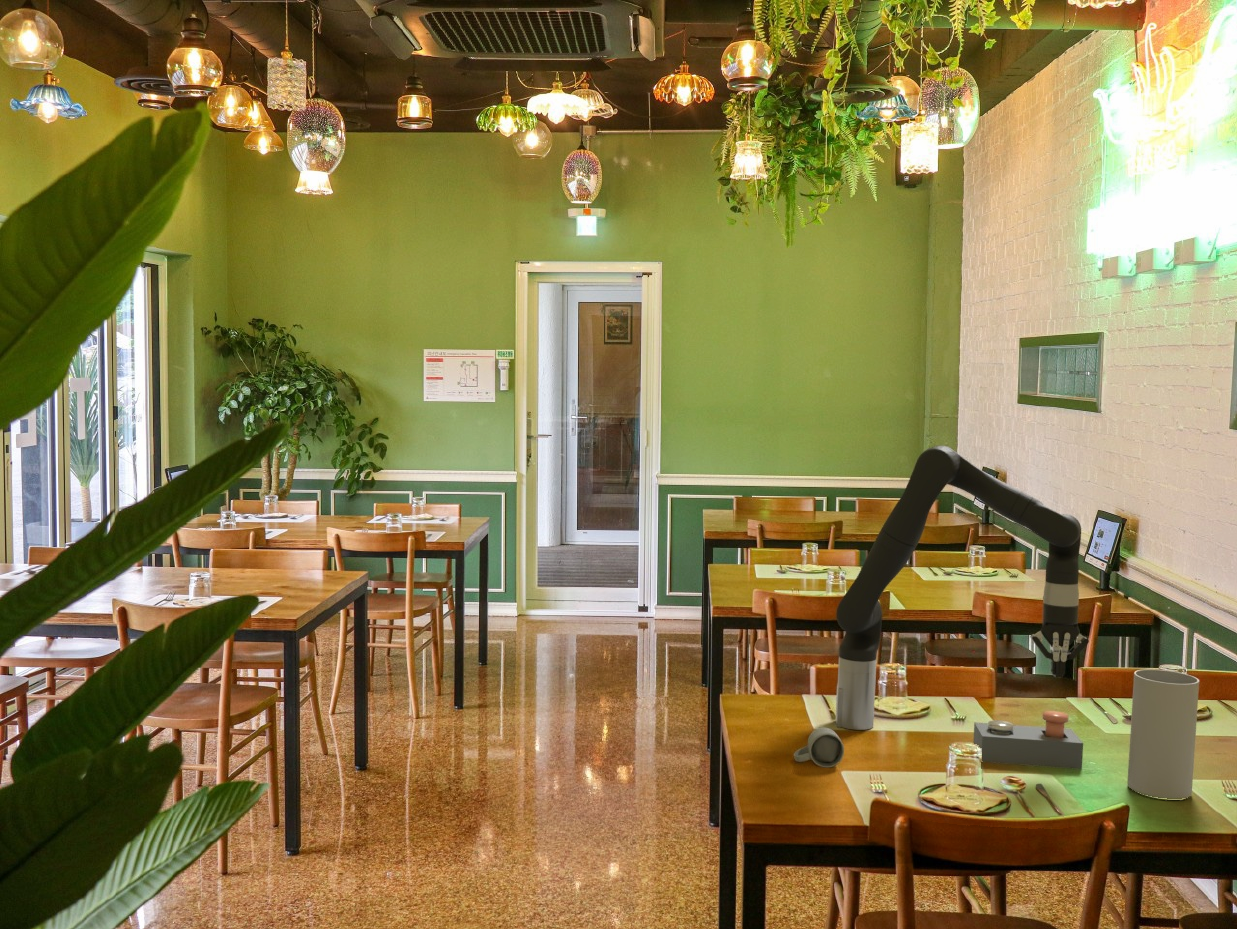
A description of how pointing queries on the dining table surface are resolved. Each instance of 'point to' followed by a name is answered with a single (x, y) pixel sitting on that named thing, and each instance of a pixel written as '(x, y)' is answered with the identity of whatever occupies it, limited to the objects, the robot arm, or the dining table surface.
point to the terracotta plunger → (1055, 723)
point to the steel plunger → (1000, 727)
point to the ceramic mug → (822, 748)
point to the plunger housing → (1029, 747)
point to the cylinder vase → (1163, 733)
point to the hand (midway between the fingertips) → (1057, 676)
